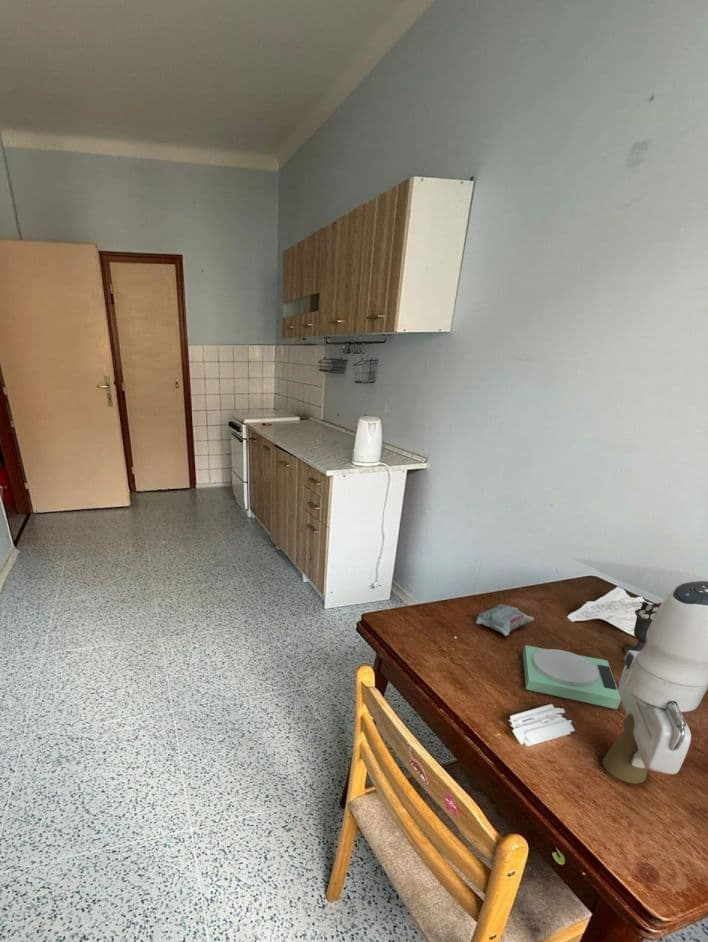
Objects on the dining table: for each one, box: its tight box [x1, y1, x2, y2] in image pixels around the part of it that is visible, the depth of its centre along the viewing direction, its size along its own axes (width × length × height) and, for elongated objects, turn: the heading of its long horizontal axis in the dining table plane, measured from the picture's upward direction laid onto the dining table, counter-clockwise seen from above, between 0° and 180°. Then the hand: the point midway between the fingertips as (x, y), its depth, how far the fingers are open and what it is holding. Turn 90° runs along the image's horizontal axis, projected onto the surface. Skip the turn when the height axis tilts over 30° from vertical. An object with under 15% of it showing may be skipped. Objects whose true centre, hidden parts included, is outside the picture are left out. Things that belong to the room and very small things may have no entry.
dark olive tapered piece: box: [602, 714, 649, 784], centre depth 77 cm, size 6×6×11 cm
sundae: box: [623, 601, 662, 655], centre depth 105 cm, size 7×7×15 cm
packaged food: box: [475, 603, 535, 637], centre depth 119 cm, size 9×12×5 cm
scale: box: [522, 644, 622, 710], centre depth 100 cm, size 16×14×4 cm
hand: (632, 750), depth 78 cm, fingers closed on dark olive tapered piece, 4 cm apart
